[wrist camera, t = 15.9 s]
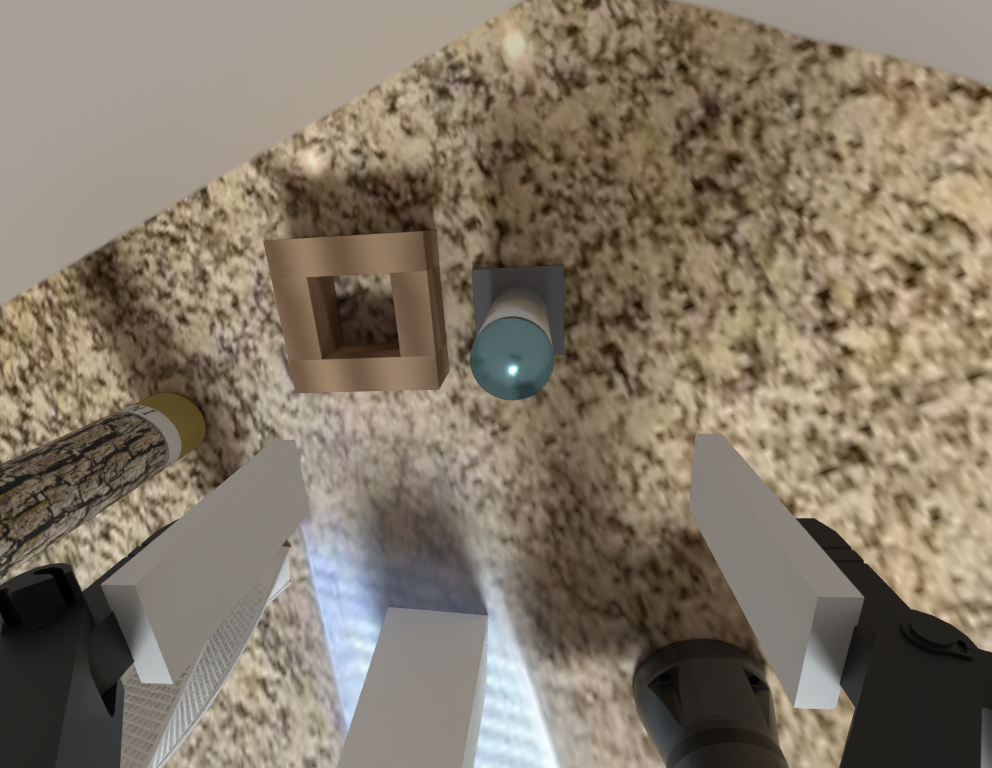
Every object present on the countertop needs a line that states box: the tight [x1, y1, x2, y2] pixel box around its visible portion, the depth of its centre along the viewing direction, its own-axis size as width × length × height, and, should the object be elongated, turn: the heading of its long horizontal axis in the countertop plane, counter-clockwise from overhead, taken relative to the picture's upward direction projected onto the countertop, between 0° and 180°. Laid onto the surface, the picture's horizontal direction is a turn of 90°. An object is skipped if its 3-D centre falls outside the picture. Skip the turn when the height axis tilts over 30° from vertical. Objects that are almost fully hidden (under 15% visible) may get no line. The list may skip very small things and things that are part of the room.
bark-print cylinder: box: [0, 393, 206, 579], centre depth 37 cm, size 7×7×25 cm
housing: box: [264, 230, 449, 393], centre depth 41 cm, size 13×13×5 cm
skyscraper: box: [120, 546, 291, 768], centre depth 41 cm, size 8×8×28 cm
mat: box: [472, 265, 564, 355], centre depth 42 cm, size 8×8×1 cm
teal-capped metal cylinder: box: [470, 286, 554, 400], centre depth 35 cm, size 5×5×15 cm
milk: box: [337, 607, 488, 768], centre depth 45 cm, size 12×12×26 cm
